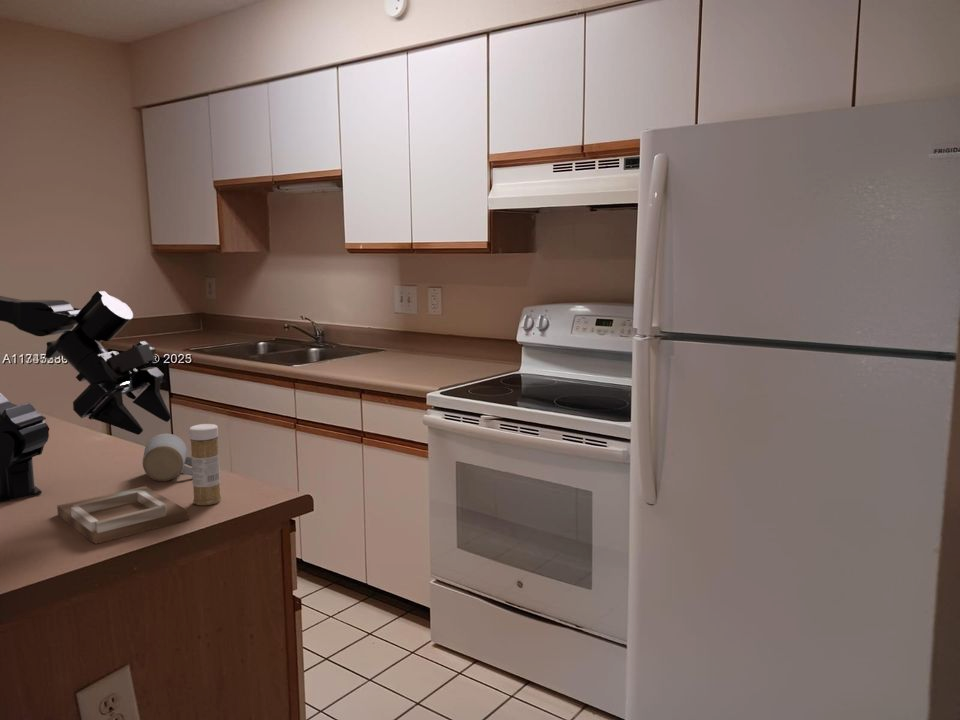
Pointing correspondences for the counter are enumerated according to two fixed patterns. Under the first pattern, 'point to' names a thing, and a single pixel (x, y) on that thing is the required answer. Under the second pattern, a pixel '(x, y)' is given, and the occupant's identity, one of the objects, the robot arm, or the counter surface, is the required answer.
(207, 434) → the sprinkles bottle
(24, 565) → the counter surface
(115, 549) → the counter surface
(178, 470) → the ceramic mug
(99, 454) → the counter surface
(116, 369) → the robot arm
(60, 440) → the counter surface
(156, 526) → the socket board
